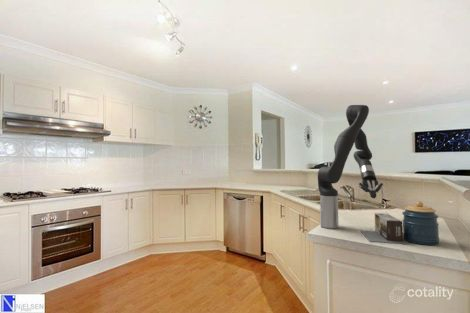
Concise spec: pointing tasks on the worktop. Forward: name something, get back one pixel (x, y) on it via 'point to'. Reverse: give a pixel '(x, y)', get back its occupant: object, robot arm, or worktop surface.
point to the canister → (420, 224)
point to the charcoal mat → (379, 237)
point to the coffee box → (388, 227)
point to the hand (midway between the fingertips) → (373, 197)
